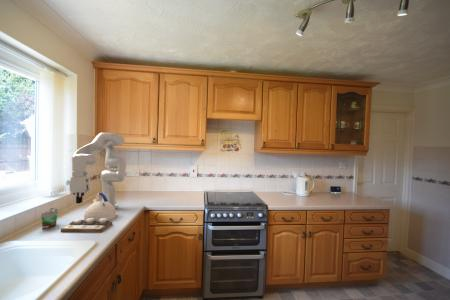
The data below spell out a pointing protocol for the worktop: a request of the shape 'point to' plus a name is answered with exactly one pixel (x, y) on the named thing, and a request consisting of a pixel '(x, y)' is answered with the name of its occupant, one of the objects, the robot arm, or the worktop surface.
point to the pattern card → (83, 227)
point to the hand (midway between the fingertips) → (79, 202)
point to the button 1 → (77, 221)
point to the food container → (49, 218)
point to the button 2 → (102, 220)
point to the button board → (83, 222)
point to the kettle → (100, 209)
